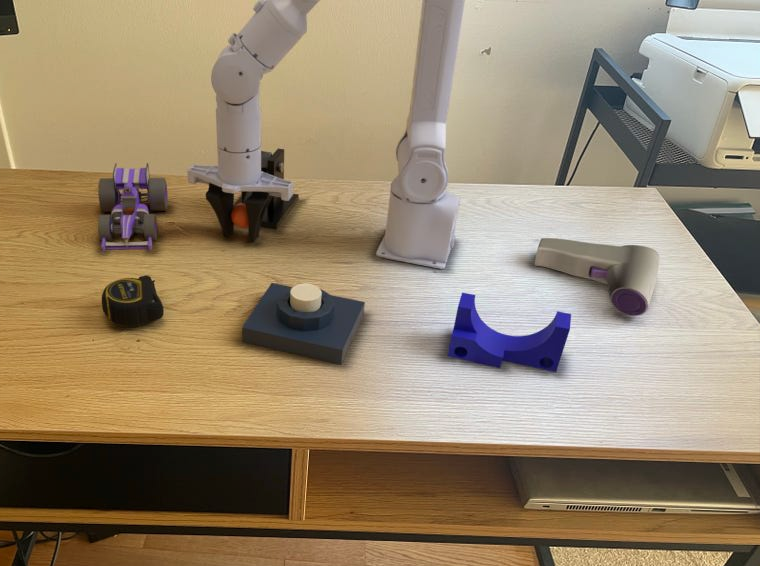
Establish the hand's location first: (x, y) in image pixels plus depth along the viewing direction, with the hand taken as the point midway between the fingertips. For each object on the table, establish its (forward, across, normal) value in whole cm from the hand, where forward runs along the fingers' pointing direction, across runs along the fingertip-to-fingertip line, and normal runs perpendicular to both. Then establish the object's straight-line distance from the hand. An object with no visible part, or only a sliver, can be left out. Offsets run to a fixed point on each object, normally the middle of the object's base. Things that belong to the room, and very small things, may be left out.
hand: (240, 236), depth 104 cm
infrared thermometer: (0, +47, +5) cm, 47 cm away
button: (-3, +15, -17) cm, 23 cm away
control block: (0, +15, -17) cm, 23 cm away
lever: (-3, 0, +5) cm, 6 cm away
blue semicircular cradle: (0, +38, -14) cm, 41 cm away
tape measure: (+1, -5, -21) cm, 22 cm away
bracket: (0, 0, +9) cm, 9 cm away
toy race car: (+1, -16, -2) cm, 16 cm away
